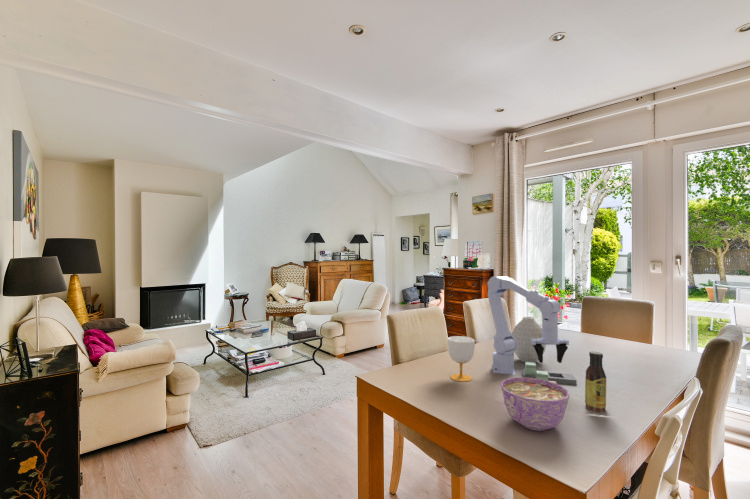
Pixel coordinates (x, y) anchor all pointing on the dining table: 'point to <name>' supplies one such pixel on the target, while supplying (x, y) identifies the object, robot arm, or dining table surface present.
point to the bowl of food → (535, 402)
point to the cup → (461, 354)
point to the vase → (527, 339)
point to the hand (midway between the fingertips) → (550, 362)
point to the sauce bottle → (595, 384)
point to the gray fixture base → (553, 376)
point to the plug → (542, 375)
